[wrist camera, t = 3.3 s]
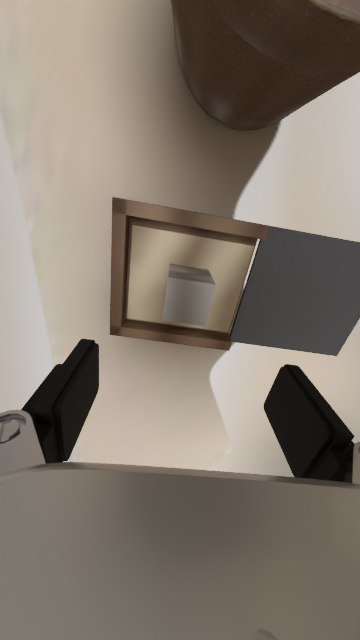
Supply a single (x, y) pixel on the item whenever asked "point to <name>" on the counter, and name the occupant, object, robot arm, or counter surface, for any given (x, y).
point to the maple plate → (184, 253)
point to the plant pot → (264, 54)
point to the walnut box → (174, 220)
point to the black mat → (300, 293)
